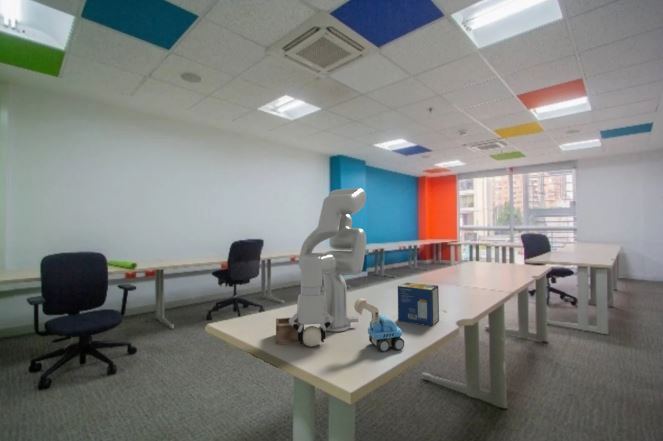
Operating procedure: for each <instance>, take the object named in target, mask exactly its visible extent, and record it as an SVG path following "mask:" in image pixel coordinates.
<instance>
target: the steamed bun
mask: <svg viewBox="0 0 663 441" xmlns="http://www.w3.org/2000/svg"><path fill="white" fill-rule="evenodd" d="M303 343H304V345H306V346H307V347H316V346H318V345H319V344H320V343H321V328H319V327H318V326H315V325H309V326H306V327H304V331H303Z"/></svg>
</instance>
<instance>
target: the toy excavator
mask: <svg viewBox="0 0 663 441" xmlns="http://www.w3.org/2000/svg"><path fill="white" fill-rule="evenodd" d="M353 307H354V310H355V311H356V313H358V314H359V315H362V313H363V310H364V309H365V310H367V311H368V312H370V313H371V320H370V322H369V327H367V334H368V337H369V338H368V341H369V342H370V343H371V344H372V345H375V346H376V348H377V349H378V350H379V351H380V352H382V353H385V352H387V351H388V350H389V349H390V348H391V347H392V348H394V349H395V350H397V351H402V350H403V348H405V347H404V346H405V340H404V339H403V338H401V336H402V335H403V334H402V329H401V328H400V327H399V326H397V324H396V322H395V321H393V320H392V319H391V318H389V317H388V316H386V315H383V314H382V315H381V314H380V311H379V309H378V307H377V306H376V305H374V304H371V303H370V302H367V300H366V299H365V298H362V297H360V298H358V299H357V300H356V301H355V302H354V306H353Z"/></svg>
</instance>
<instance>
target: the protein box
mask: <svg viewBox="0 0 663 441" xmlns="http://www.w3.org/2000/svg"><path fill="white" fill-rule="evenodd" d="M439 299H440V298H439V285H435V284H434V285H433V284H422V283H413V282H405V283H402V284H399V285H397V321H400V322H405V323H410V322H412V323H411V324H415V323H417V324H416V325H421V324H424V325H423V326H426V325H431V326H430V327H433V326H434V325H435V324H437V323H438V322H439V321H440V308H439V307H440V303H439ZM437 321H438V322H437ZM433 324H434V325H433ZM432 325H433V326H432Z"/></svg>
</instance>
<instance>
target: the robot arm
mask: <svg viewBox="0 0 663 441" xmlns="http://www.w3.org/2000/svg"><path fill="white" fill-rule="evenodd" d="M366 202H367V194H366V192H365V190H364V189H363V188H360V187H356V188H341V189H339V188H338V189H334V190H331V191H330V192H329V193H328V196H326V197H325V198H324V199H323V202H322V206H321V210H320V216H319V219H318V224H317V226H316V229H314V230H313V231H311V233H309V235H308V236H307V237H306V238H305V239H304V241H303V243H302V245H301V248H300V253H299V257H298V268H299V270H300V293H299V294H298V296H297V302H296V304H297V307H296V313H295V314H293V315H292V316H291V317H289V318H290V319H289V323H290V324H291V325H292V326H293V327H294V328H295V329H296V330H297V331H298V341H300V345H302V344H303V343H304V342H303V332H302V328H303V326H304V327H305V325H317V324H318V325H319V326H320V331H321V341H320V343H325V340H326V332H333V333H334V332H335V333H337V332H338V333H339V332H345V331H348V330H349V329H351V327H352V325H351V323H359V317H356V316H349V315H348V309H347V308H348V305H347V303H348V299H347V298H348V294H347V291H348V290H347V282H346V280H345V278H344V277H343V275H351V276H357V275H360V274H361V273H362V271H363V269H364V268H363V267H364V263H365V254H366V248H367V235H366V232H365V230H363V228H358V227H352V225H353V218H352V217H351V215H355V214H357V213H358V212H360V210H361V209H362V208H364V206H365V205H366ZM328 239H329V247H330V248H331V249H332V250H330V251H329V250H328V251H327V252H324V253H319V252H317V253H315V252H314V253H313V251H314V249H315V248H316V247H317V246H318V245H319V244H320V243H322V242H324V241H325V240H326V241H327V240H328ZM295 319H297V320H298V323H299V325H297V324H296V323H295V322H294V320H295Z"/></svg>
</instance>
